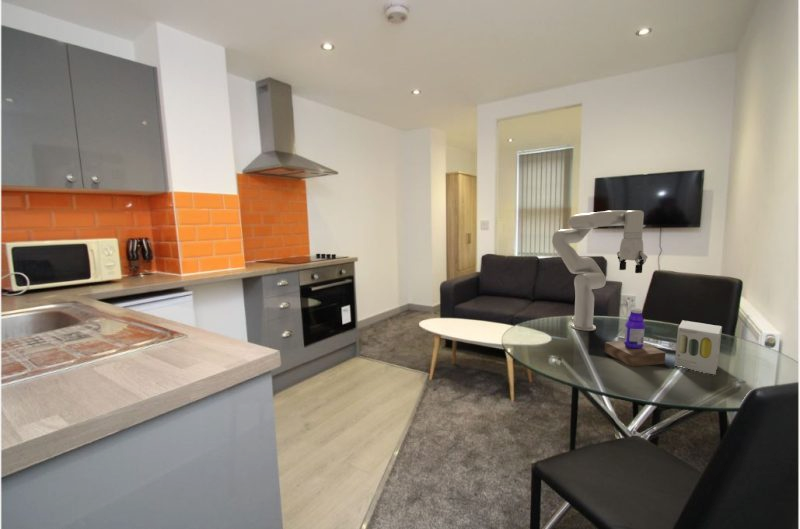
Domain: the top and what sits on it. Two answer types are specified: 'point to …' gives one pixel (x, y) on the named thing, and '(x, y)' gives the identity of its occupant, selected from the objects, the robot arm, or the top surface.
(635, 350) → the plinth
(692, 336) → the supplement box
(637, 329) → the bottle
